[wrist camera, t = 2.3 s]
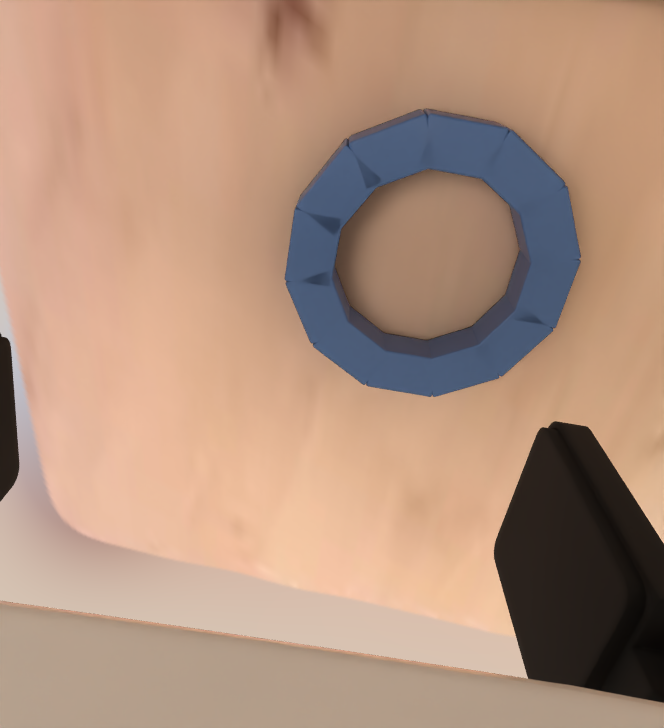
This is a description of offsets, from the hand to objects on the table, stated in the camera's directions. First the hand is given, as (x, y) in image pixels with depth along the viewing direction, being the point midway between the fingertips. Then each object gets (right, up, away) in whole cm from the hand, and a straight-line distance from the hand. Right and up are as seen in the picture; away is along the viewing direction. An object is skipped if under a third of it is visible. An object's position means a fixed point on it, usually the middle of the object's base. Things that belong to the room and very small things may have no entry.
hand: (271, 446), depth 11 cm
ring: (+4, +5, +11) cm, 13 cm away
